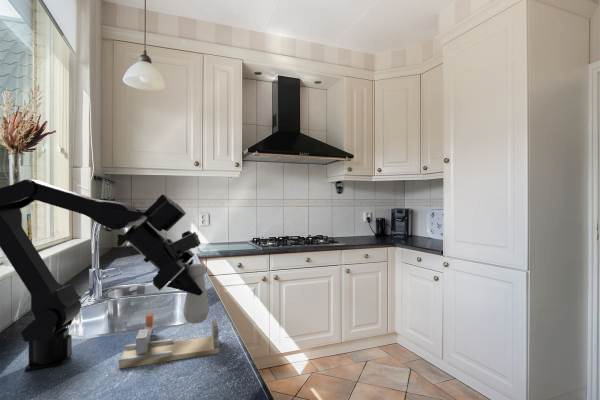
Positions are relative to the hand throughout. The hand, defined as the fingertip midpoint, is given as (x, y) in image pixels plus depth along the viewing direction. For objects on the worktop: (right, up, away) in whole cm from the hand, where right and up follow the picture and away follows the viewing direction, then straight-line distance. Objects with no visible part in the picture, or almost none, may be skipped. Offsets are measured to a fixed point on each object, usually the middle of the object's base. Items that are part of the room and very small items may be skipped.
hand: (202, 291), depth 75 cm
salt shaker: (-1, -7, 0) cm, 7 cm away
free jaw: (-13, -12, +1) cm, 18 cm away
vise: (-6, -13, -2) cm, 15 cm away
